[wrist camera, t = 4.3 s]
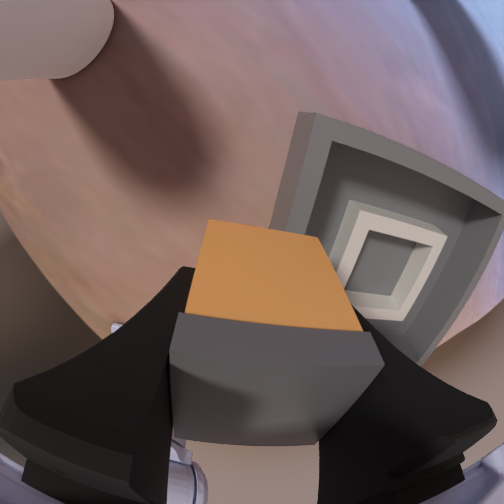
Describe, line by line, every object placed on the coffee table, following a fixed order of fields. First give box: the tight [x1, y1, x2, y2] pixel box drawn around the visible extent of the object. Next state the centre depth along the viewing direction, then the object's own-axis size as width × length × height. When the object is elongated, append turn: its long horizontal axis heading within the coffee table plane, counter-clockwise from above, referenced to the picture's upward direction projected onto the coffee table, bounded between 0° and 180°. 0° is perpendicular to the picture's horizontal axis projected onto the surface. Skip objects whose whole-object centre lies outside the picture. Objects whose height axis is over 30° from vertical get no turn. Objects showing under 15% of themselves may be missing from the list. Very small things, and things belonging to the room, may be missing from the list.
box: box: [269, 112, 504, 367], centre depth 17 cm, size 16×16×4 cm
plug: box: [169, 219, 385, 446], centre depth 8 cm, size 4×4×6 cm
